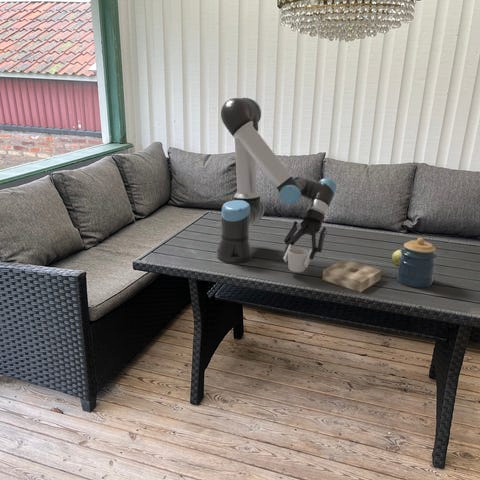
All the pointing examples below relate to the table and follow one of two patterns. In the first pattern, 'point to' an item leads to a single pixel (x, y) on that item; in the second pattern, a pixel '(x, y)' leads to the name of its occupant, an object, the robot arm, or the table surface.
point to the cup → (297, 259)
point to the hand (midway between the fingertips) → (295, 262)
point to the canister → (417, 264)
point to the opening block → (352, 275)
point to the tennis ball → (396, 256)
